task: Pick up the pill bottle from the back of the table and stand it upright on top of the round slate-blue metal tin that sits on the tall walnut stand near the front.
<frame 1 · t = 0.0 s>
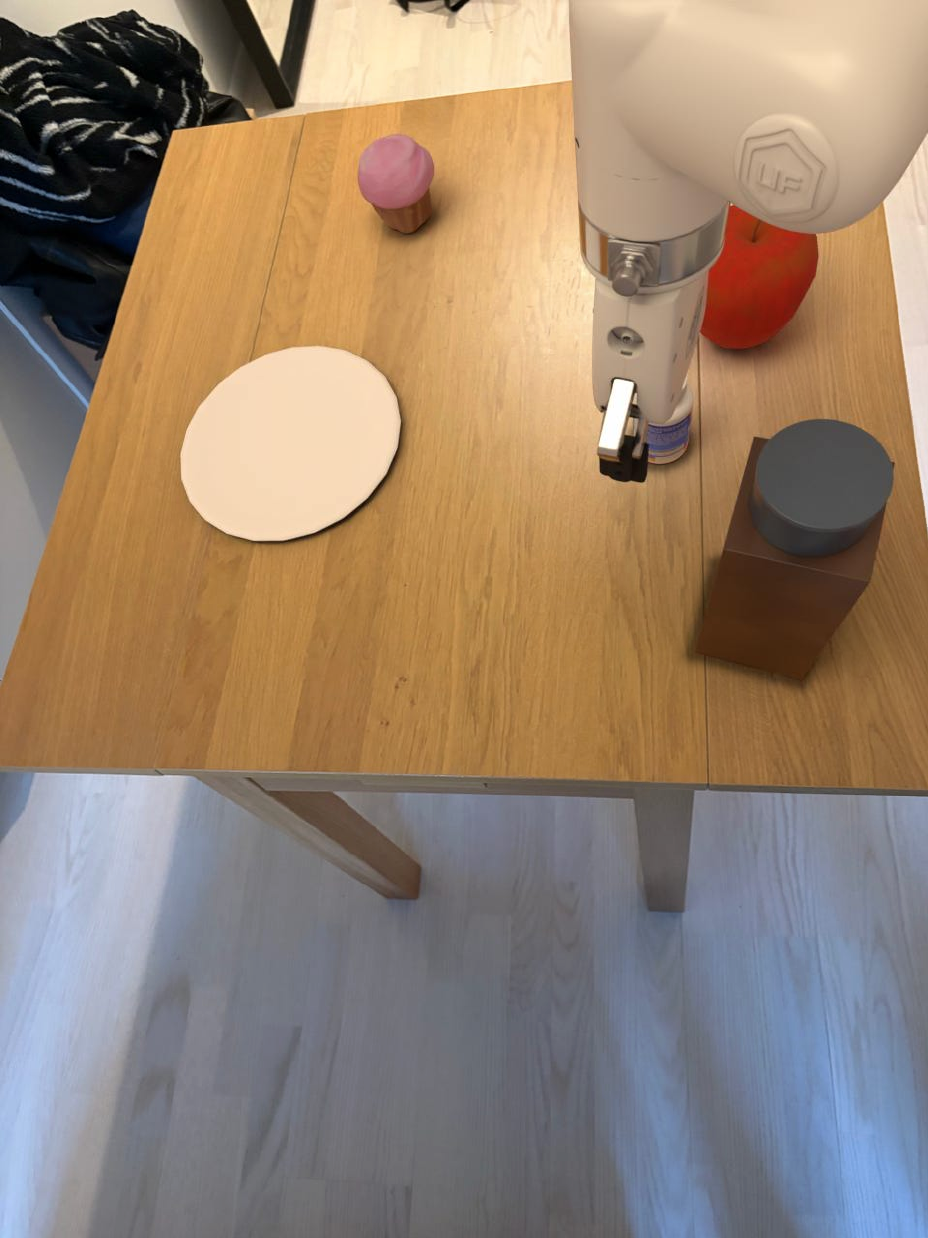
hand: (642, 418, 56), 20 cm above the table, tool pointing down, fingers open, 9 cm apart
tin: (809, 505, 52), point 20 cm above the table, touching stand
apple: (736, 331, 82), on the table
cupcake: (408, 222, 96), on the table
plate: (292, 444, 87), on the table
pill bottle: (659, 443, 79), on the table
stand: (758, 619, 70), on the table
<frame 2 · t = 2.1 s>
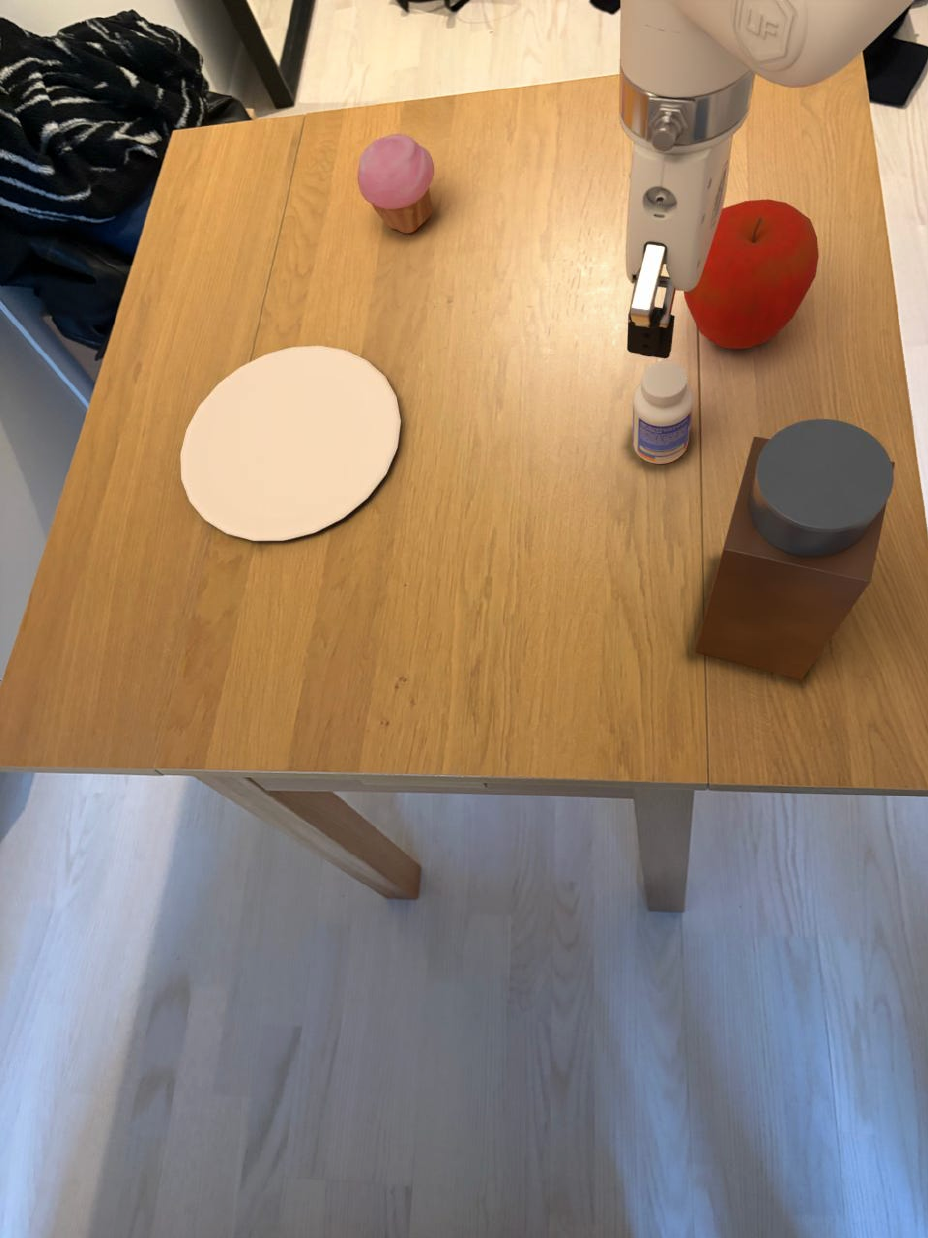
hand: (665, 302, 61), 19 cm above the table, tool pointing down, fingers open, 9 cm apart
nothing on the table moved.
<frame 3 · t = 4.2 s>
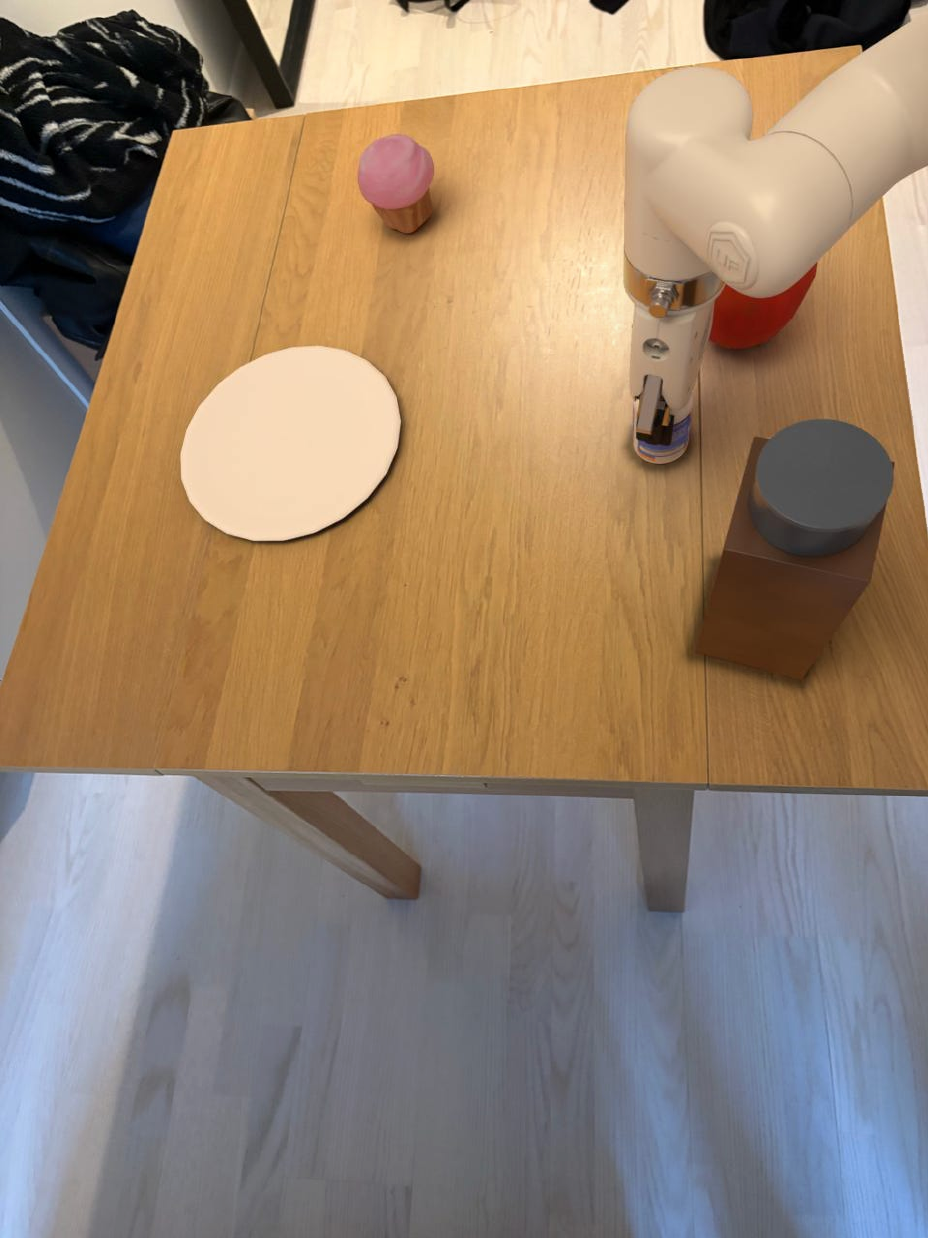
hand: (662, 412, 74), 5 cm above the table, tool pointing down, fingers closed on pill bottle, 5 cm apart
pill bottle: (659, 443, 79), on the table, touching gripper
everything else where it was.
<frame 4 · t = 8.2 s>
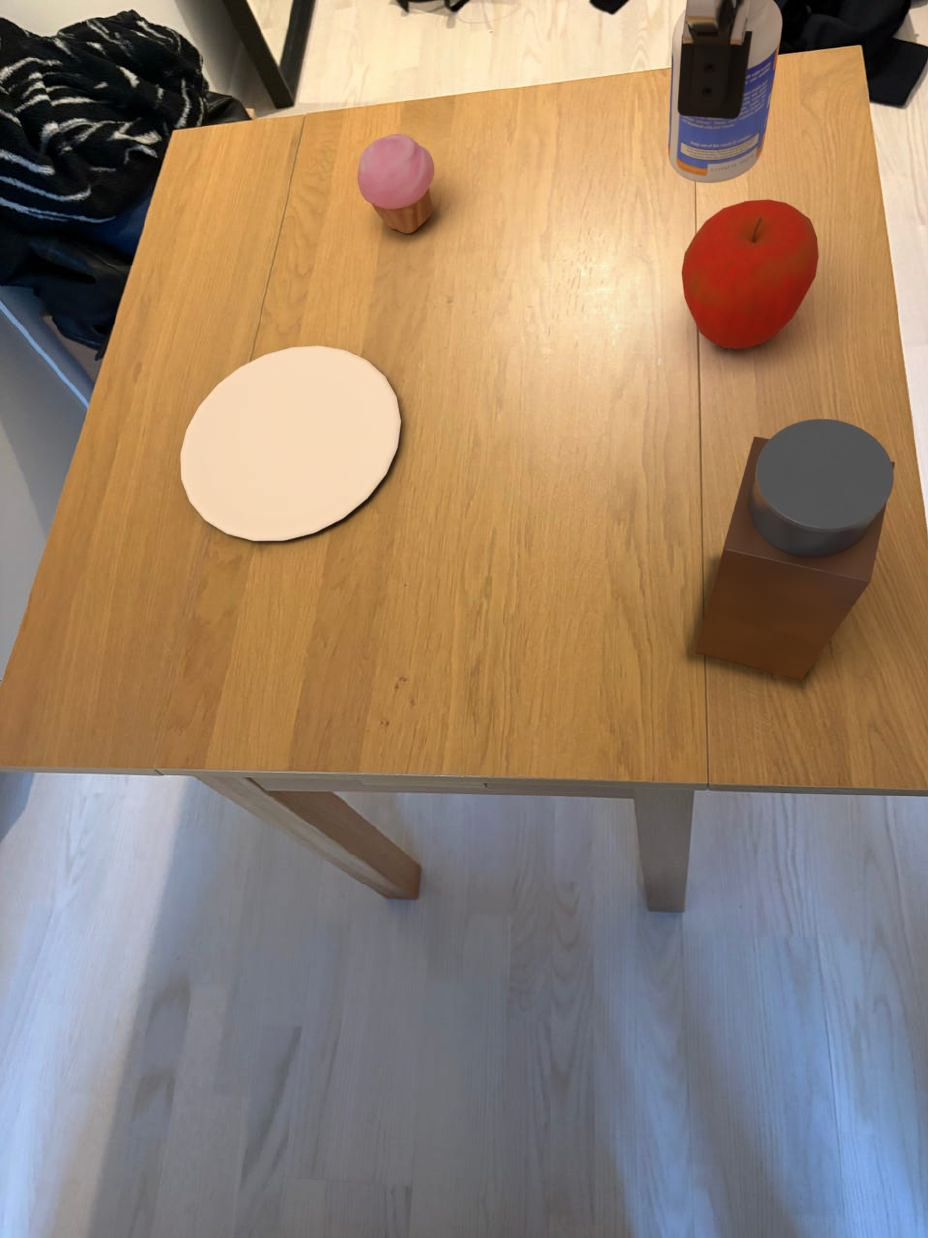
hand: (723, 69, 42), 38 cm above the table, tool pointing down, fingers closed on pill bottle, 5 cm apart
pill bottle: (713, 156, 47), point 33 cm above the table, touching gripper
everything else where it was.
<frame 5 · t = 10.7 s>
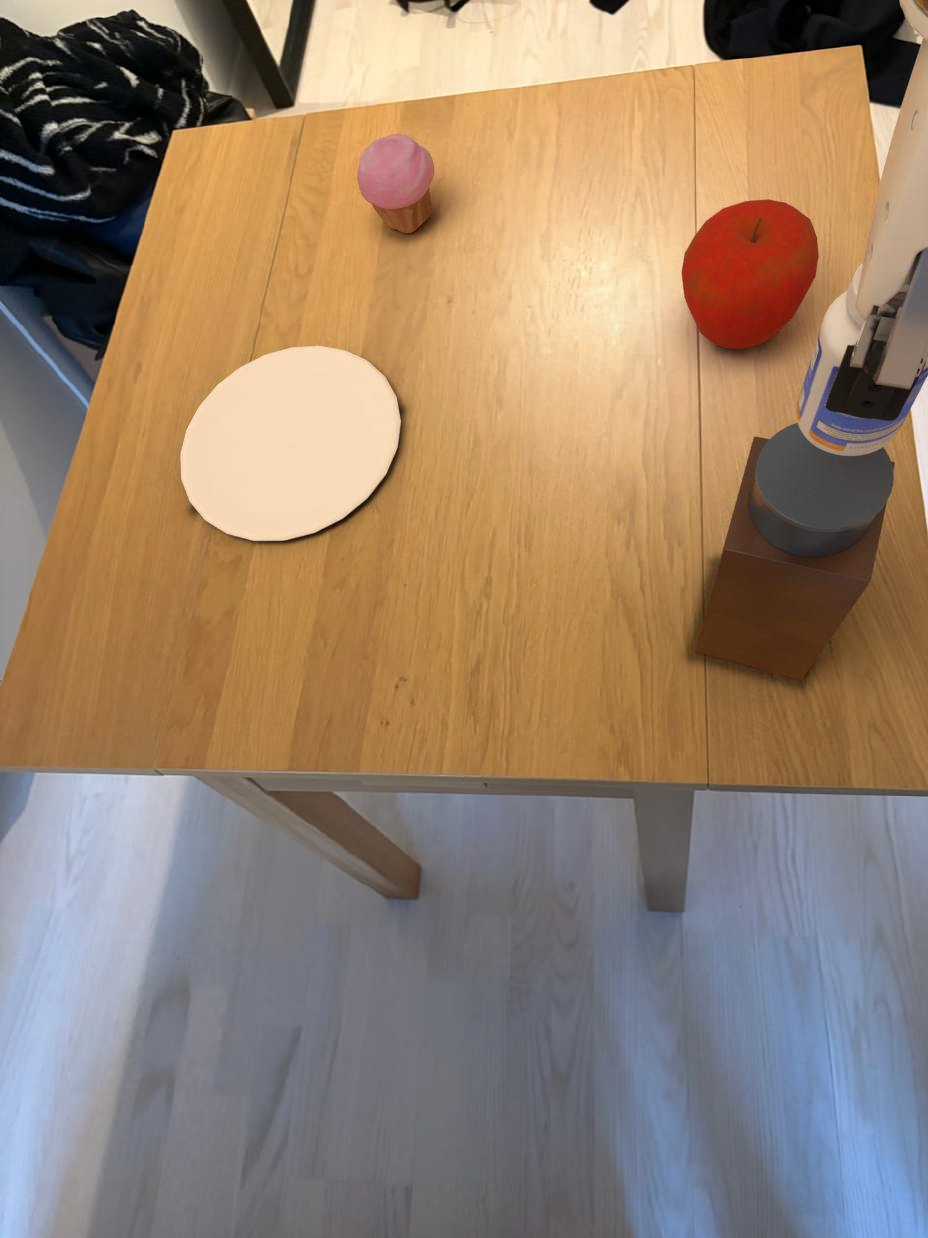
hand: (873, 357, 39), 34 cm above the table, tool pointing down, fingers closed on pill bottle, 5 cm apart
pill bottle: (844, 419, 43), point 29 cm above the table, touching gripper
everything else where it was.
when the fingers open (29 cm above the table, at t = 12.4 s): pill bottle stays where it is, resting on tin.
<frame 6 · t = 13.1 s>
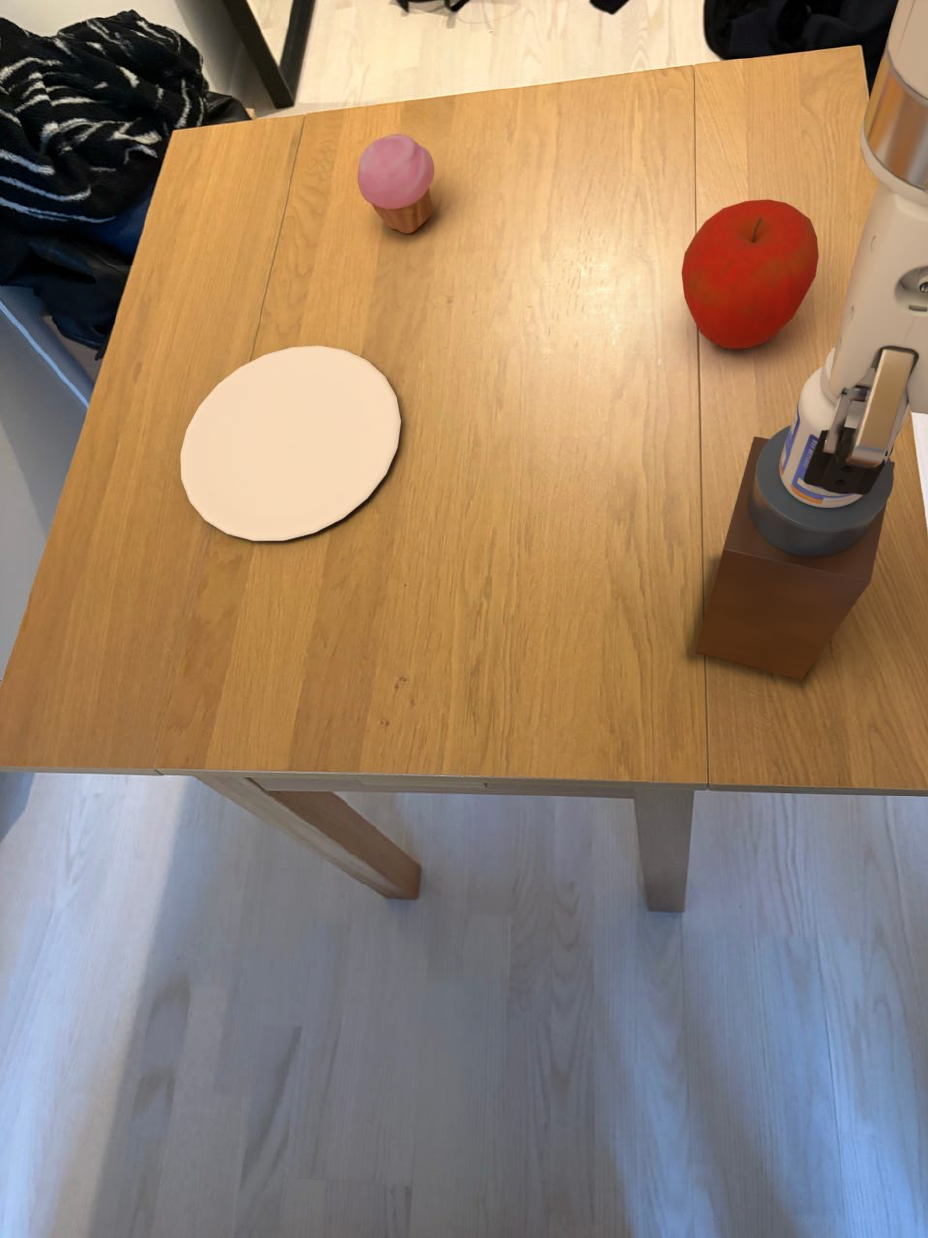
hand: (853, 408, 42), 30 cm above the table, tool pointing down, fingers open, 9 cm apart
tin: (809, 505, 52), point 20 cm above the table, touching pill bottle, stand
pill bottle: (823, 473, 48), point 24 cm above the table, touching tin
everything else where it was.
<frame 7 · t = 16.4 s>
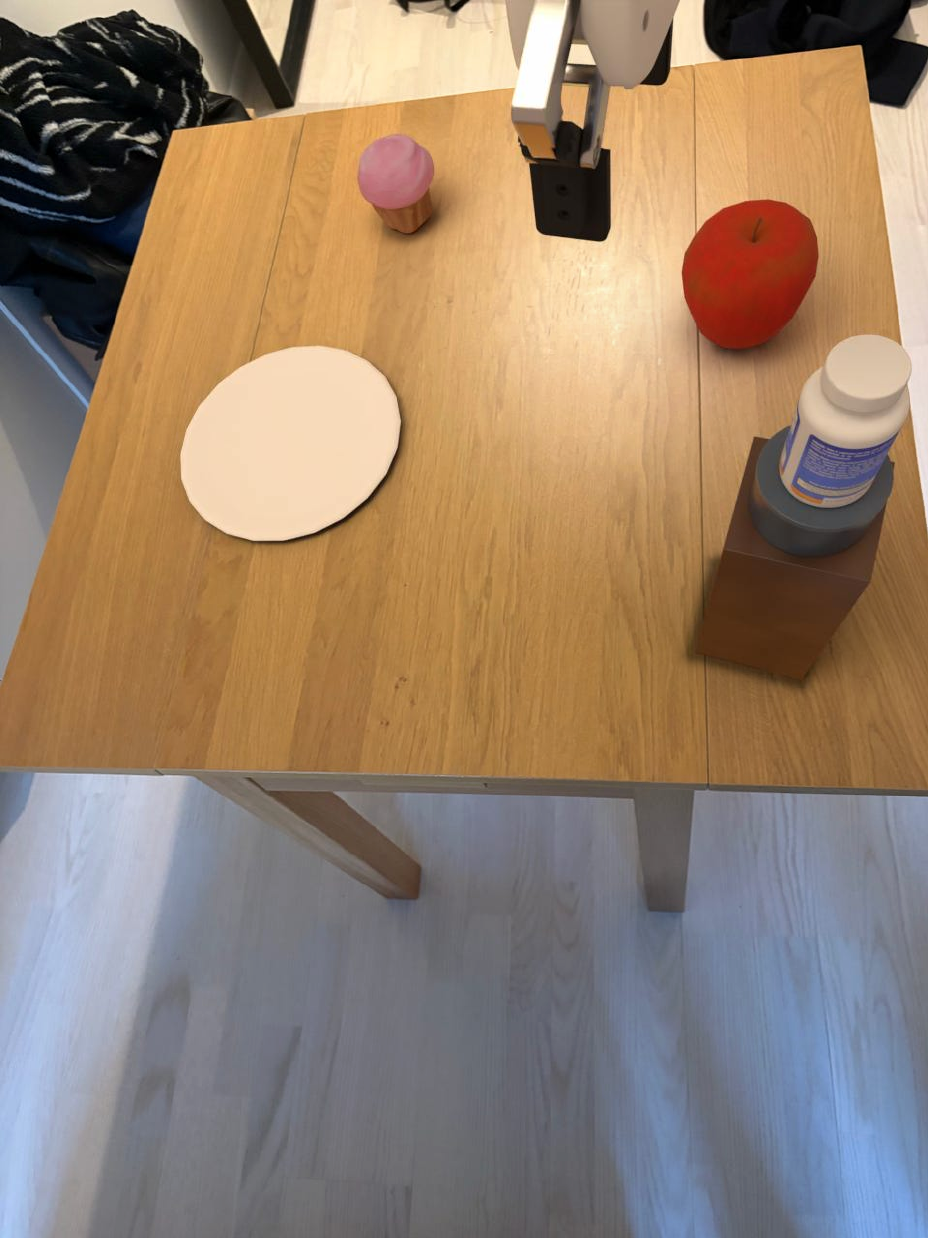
hand: (605, 153, 36), 42 cm above the table, tool pointing down, fingers open, 9 cm apart
nothing on the table moved.
at the end: pill bottle 0.0 cm off-centre on the tin, point 3.8 cm above the tin's base; pill bottle tilted 0°; tin moved 0.0 cm from its start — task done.
